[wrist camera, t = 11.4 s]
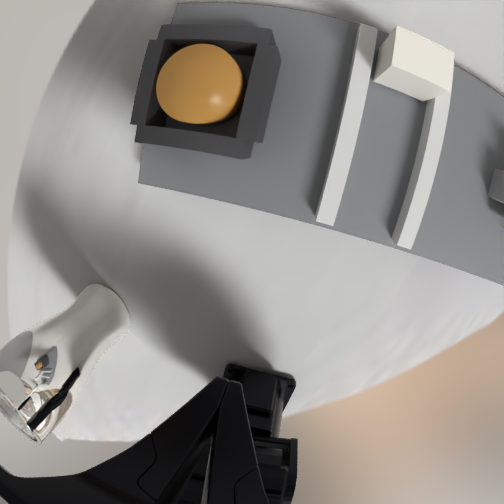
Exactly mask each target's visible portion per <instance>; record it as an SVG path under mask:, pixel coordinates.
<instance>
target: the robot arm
mask: <svg viewBox="0 0 504 504" xmlns="http://www.w3.org/2000/svg"><path fill="white" fill-rule="evenodd" d="M231 369H232V370H231ZM290 384H292V385H290ZM295 387H296V381H295V380H293V379H289V378H284V377H280V376H276V375H271V374H267V373H263V372H259V371H256V370H252V369H248V368H244V367H241V366H237V365H234V364H228V365H227V366H226V368H225V371H224V376H223V378H222V377H216V378H214V379H213V380H212V381H211V382H210V383H209V384H208V385H207V386H205V387H204V388H203V389H202V390H201V391H200V392H199V393H197V394H196V395H195V396H194V397H193V398H192V399H190V400H189V401H188V402H187V403H186V404H185V405H183V406H182V407H181V408H180V409H179V410H177V411H176V412H175V413H174V414H173V415H171V416H170V417H169V418H168V419H167V420H165V421H164V422H163V423H162V424H160V425H159V426H158V427H157V428H155V429H154V430H153V431H152V432H151V434H148V435H146V436H145V437H144V438H143V439H141V440H140V441H138V442H137V443H136V444H134V445H133V446H131V447H130V448H128V449H127V450H125V451H123V452H122V453H120V454H118V455H116V456H115V457H113V458H111V459H109V460H107V461H105V462H103V463H101V464H99V465H97V466H95V467H93V468H91V469H89V470H86V471H84V472H81V473H78V474H74V475H68V476H56V477H38V478H37V477H36V478H24V477H17V476H14V475H12V474H11V473H9V472H8V471H7V470H6V469H5V468H4V467H3V466H1V465H0V504H291V501H292V498H293V495H294V490H295V486H296V478H297V439H295V438H291V439H285V438H279V432H280V425H281V418H282V412H283V411H284V409H285V407H286V405H287V403H288V401H289V399H290V397H291V395H292V393H293V391H294V389H295Z"/></svg>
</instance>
